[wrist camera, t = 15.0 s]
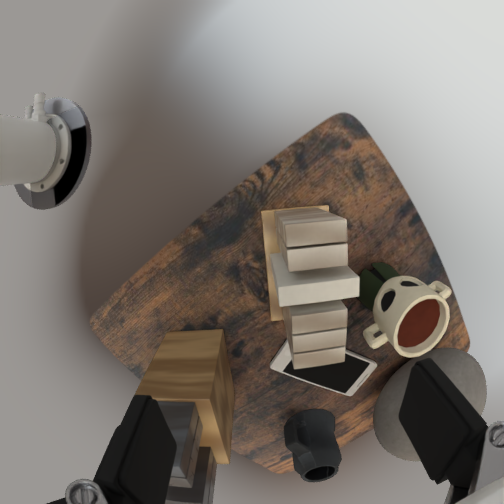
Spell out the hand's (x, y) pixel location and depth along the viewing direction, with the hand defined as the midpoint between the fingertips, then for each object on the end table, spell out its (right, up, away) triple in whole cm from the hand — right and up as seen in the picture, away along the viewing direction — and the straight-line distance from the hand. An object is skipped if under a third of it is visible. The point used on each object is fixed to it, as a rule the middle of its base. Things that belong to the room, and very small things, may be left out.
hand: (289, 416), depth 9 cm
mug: (+8, -24, +33) cm, 42 cm away
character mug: (+15, +2, +27) cm, 31 cm away
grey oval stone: (+24, -14, +31) cm, 41 cm away
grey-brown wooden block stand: (+4, +4, +26) cm, 27 cm away
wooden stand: (-8, -11, +30) cm, 33 cm away
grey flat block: (+4, +5, +25) cm, 26 cm away
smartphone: (+10, -11, +30) cm, 33 cm away
